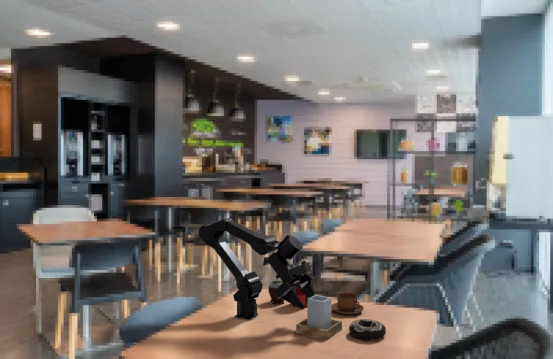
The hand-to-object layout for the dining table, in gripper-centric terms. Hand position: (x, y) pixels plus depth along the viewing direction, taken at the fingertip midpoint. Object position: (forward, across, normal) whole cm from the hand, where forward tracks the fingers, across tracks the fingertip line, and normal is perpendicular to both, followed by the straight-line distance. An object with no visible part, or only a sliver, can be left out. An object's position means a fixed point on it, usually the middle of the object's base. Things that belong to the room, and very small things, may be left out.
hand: (310, 305), depth 164 cm
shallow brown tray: (+8, 0, +3) cm, 9 cm away
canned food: (-5, +23, +18) cm, 29 cm away
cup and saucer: (+8, +25, +4) cm, 26 cm away
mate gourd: (-12, +21, +24) cm, 34 cm away
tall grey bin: (+8, 0, +3) cm, 8 cm away
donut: (+19, +6, -7) cm, 21 cm away
